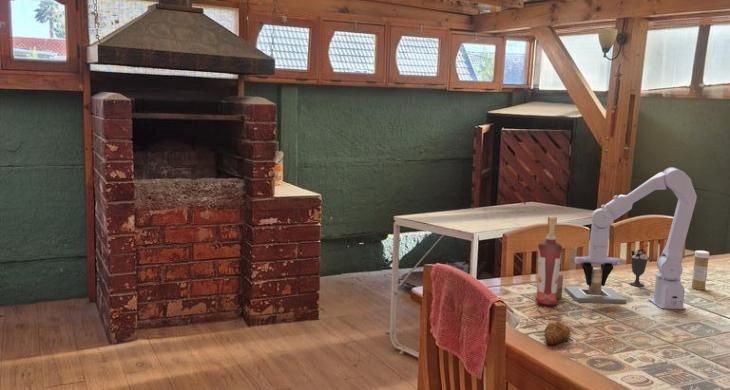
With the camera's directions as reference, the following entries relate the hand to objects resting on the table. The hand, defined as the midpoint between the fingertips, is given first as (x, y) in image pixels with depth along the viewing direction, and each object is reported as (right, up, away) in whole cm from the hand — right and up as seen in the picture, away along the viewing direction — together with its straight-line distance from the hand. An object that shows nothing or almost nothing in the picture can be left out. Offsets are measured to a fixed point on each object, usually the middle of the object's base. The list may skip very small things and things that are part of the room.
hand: (595, 285), depth 213 cm
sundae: (+21, -2, +16) cm, 27 cm away
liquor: (-19, -5, -9) cm, 22 cm away
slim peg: (0, -3, +1) cm, 3 cm away
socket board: (0, -4, +1) cm, 4 cm away
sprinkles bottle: (+42, -3, +15) cm, 44 cm away
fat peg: (-15, -3, +1) cm, 15 cm away
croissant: (-25, -9, -40) cm, 48 cm away
